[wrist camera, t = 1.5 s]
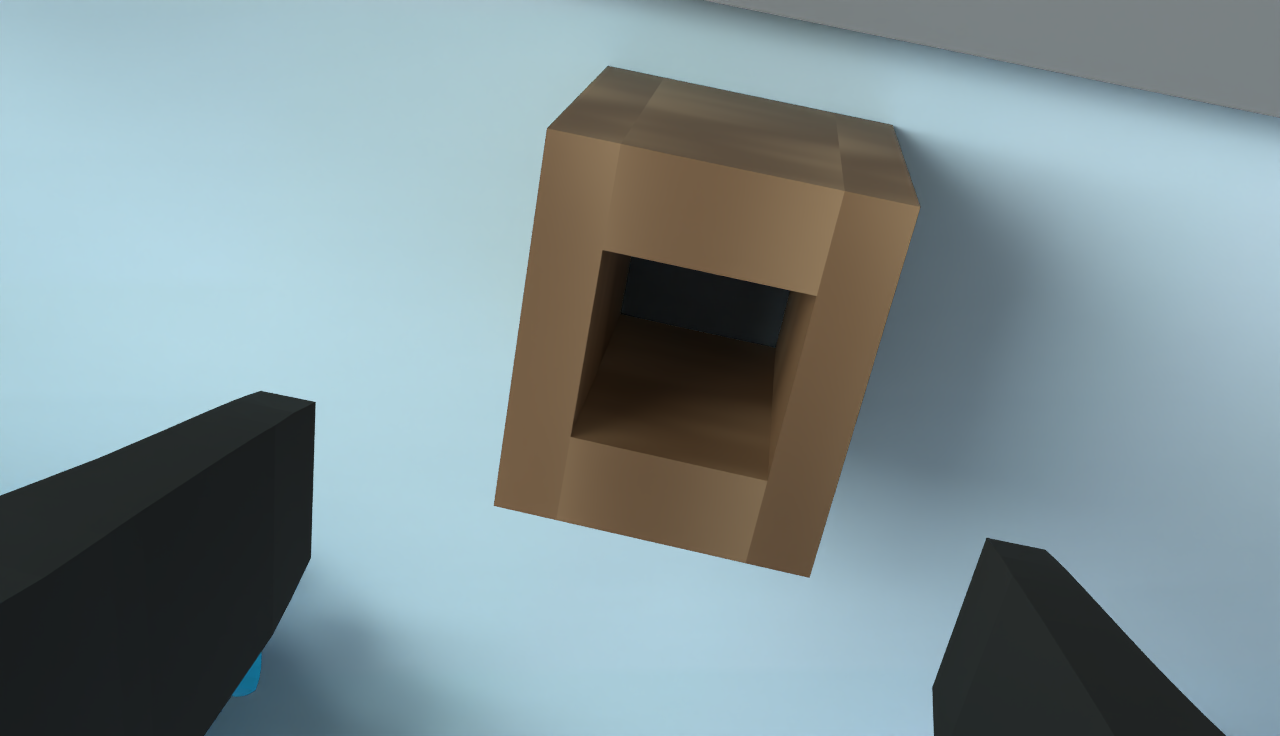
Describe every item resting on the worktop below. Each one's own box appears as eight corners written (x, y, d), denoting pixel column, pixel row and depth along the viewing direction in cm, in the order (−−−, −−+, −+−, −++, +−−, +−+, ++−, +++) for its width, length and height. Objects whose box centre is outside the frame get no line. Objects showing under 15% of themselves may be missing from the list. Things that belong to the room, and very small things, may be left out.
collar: (892, 125, 19) (919, 207, 14) (808, 427, 21) (809, 577, 17) (607, 65, 19) (546, 128, 15) (558, 372, 22) (494, 505, 17)
